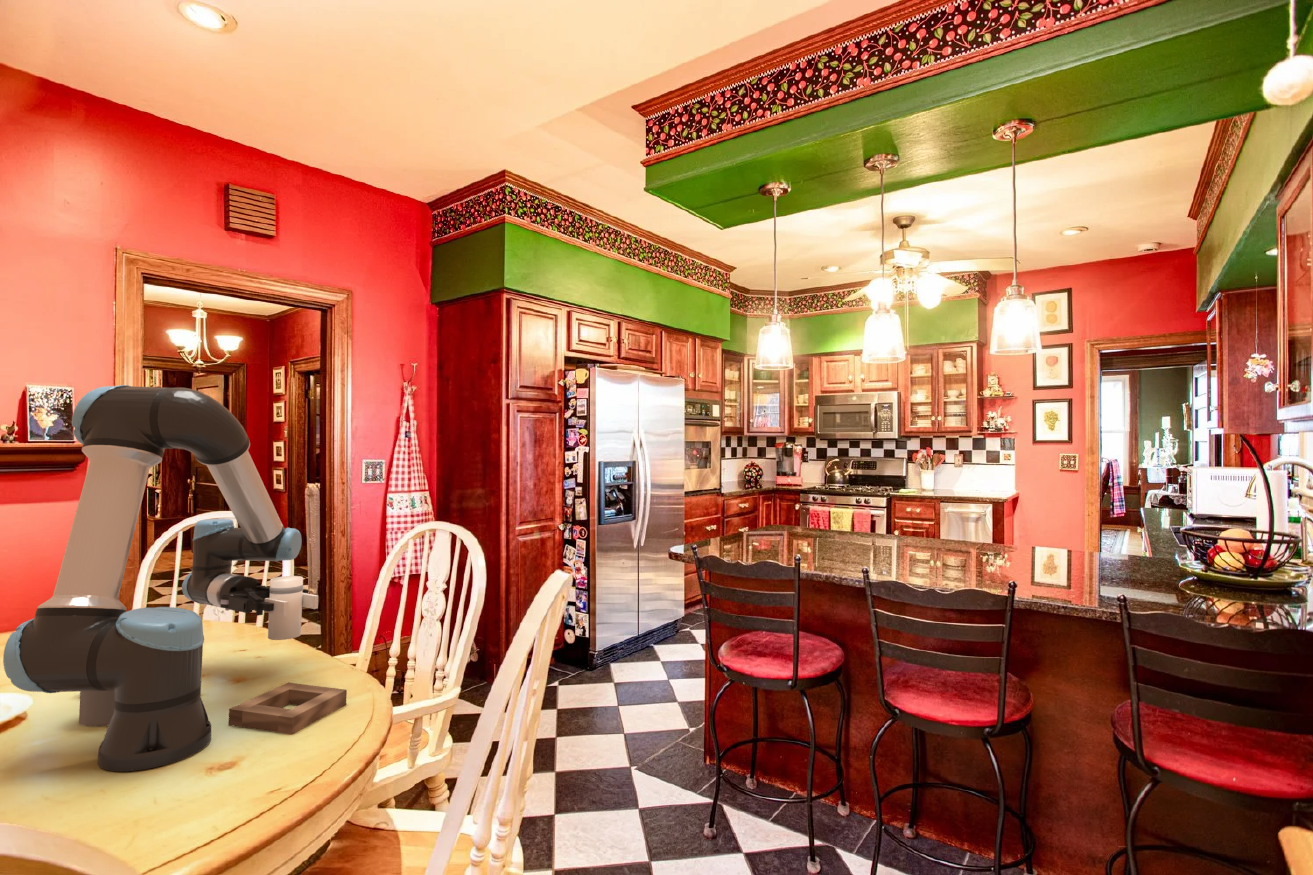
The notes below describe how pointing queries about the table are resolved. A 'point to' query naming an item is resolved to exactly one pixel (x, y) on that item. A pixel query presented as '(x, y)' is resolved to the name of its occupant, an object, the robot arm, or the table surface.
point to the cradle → (273, 717)
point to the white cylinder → (292, 593)
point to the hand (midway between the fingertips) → (301, 605)
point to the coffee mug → (96, 708)
